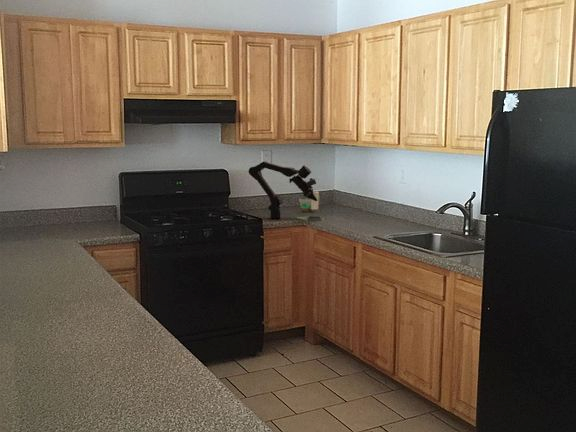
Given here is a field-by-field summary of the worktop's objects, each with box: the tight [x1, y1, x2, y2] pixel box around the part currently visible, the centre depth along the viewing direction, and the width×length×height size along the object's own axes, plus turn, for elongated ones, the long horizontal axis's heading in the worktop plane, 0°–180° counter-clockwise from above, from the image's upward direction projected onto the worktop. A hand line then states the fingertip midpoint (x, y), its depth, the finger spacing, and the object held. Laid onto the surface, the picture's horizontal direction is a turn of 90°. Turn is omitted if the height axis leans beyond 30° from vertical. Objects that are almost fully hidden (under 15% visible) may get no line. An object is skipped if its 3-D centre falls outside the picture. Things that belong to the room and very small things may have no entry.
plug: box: [311, 191, 321, 212], centre depth 429 cm, size 5×5×12 cm
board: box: [296, 215, 325, 222], centre depth 433 cm, size 14×17×2 cm
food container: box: [298, 198, 315, 214], centre depth 461 cm, size 12×6×10 cm, turn 73°
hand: (317, 200), depth 429 cm, fingers closed on plug, 4 cm apart
